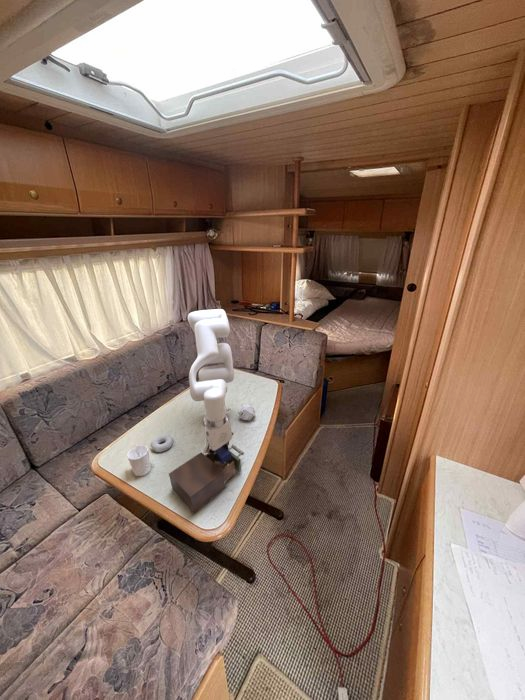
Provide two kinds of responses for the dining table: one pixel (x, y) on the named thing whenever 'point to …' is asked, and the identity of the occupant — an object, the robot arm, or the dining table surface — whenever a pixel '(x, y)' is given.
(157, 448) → the donut
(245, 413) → the die
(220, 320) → the robot arm
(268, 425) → the dining table surface
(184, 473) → the cabinet
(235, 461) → the drawer
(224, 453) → the tall navy block
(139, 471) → the white cup
